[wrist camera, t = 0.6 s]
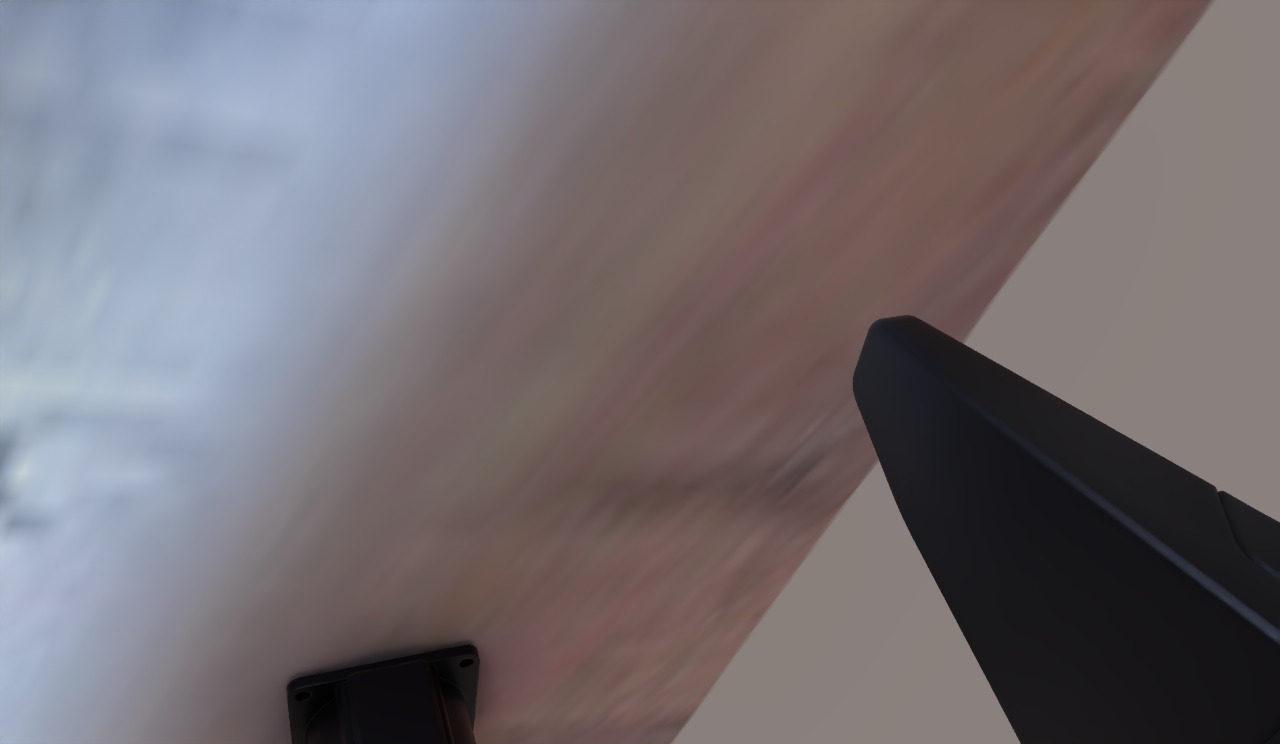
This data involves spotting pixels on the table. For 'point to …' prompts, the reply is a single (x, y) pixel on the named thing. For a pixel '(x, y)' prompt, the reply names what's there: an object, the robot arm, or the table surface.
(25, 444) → the table surface
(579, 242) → the table surface
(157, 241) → the table surface
